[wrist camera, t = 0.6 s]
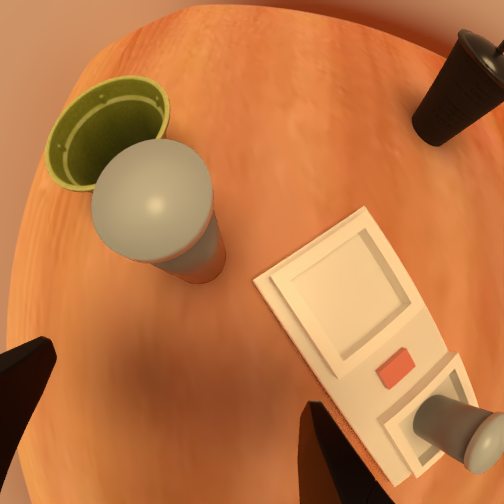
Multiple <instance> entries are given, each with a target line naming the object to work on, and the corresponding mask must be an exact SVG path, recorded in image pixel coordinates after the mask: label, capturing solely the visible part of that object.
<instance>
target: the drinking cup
mask: <svg viewBox="0 0 504 504" xmlns="http://www.w3.org/2000/svg"><path fill="white" fill-rule="evenodd" d="M503 52H504V40H503V41H502V42H501V44H500V45H499V46H498V47H496V46H495V45H494V44H493V43H491V42H490V41H489V40H487V39H485V38H484V37H482V36H480V35H477V34H474V33H472V32H471V31H468V30H465V29H462V30H460V31H459V32H458V40H457V42H456V44H455V46H454V47H453V49H452V51H451V53H450V55H449V56H448V58H447V60H446V62H445V63H444V65H443V67H442V69H441V70H440V72H439V74H438V76H437V77H436V79H435V81H434V82H433V84H432V86H431V87H430V89H429V91H428V92H427V94H426V96H425V97H424V99H423V100H422V102H421V104H420V105H419V107H418V109H417V110H416V112H415V113H414V115H413V117H412V123H413V126H414V129H415V130H416V132H417V133H418V135H419V136H420V137H421V138H422V139H423V140H424V141H425V142H427V143H428V144H430V145H433V146H441V145H442V144H444V143H445V142H447V141H448V140H449V139H451V138H452V137H454V136H455V135H457V134H458V133H460V132H461V131H462V130H464V129H465V128H467V127H468V126H470V125H471V124H473V123H474V122H475V121H477V120H478V119H480V118H481V117H483V116H484V115H485V114H487V113H488V112H490V111H491V110H493V109H494V108H495V107H497V106H498V105H500V104H501V103H502V102H504V54H503Z"/></svg>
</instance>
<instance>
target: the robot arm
mask: <svg viewBox="0 0 504 504" xmlns="http://www.w3.org/2000/svg"><path fill="white" fill-rule="evenodd" d="M56 360H57V355H56V352H55V349H54V346H53V343H52V341H51V340H50V339H49V338H46V337H44V336H40V337H38V338H36V339H34V340H31V341H29V342H27V343H24V344H22V345H20V346H18V347H15V348H13V349H11V350H9V351H6V352H4V353H2V354H0V492H1V489H2V486H3V483H4V480H5V477H6V474H7V471H8V469H9V466H10V464H11V461H12V459H13V456H14V454H15V451H16V449H17V447H18V444H19V442H20V440H21V437H22V435H23V433H24V431H25V429H26V426H27V424H28V422H29V420H30V418H31V416H32V414H33V412H34V410H35V408H36V406H37V404H38V402H39V400H40V398H41V396H42V394H43V392H44V389H45V387H46V384H47V382H48V380H49V377H50V375H51V372H52V370H53V368H54V365H55V363H56ZM298 478H299V496H300V504H395V503H394V502H393V500H392V499H391V498H390V497H389V496H388V494H387V493H386V492H385V491H384V489H383V488H382V487H381V485H380V484H379V483H378V481H377V480H375V477H374V476H373V475H372V473H371V472H370V470H369V469H368V468H367V466H366V465H365V463H364V462H363V461H362V459H361V458H360V456H359V455H358V454H357V452H356V451H355V449H354V448H353V446H352V445H351V444H350V442H349V441H348V439H347V438H346V437H345V435H344V434H343V432H342V431H341V429H340V428H339V426H338V425H337V424H336V422H335V421H334V419H333V418H332V416H331V415H330V413H329V412H328V411H327V409H326V408H325V406H324V405H323V403H322V402H320V401H308V402H307V404H306V406H305V408H304V410H303V412H302V414H301V417H300V428H299V444H298Z"/></svg>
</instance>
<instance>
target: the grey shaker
mask: <svg viewBox="0 0 504 504" xmlns="http://www.w3.org/2000/svg"><path fill="white" fill-rule="evenodd" d="M213 208H214V192H213V187H212V183H211V179H210V174H209V171H208V169H207V166H206V165H205V163H204V161H203V160H202V158H201V157H200V156H199V155H198V154H197V153H196V152H195V151H194V150H193V149H191V148H190V147H188V146H187V145H185V144H183V143H180V142H177V141H174V140H169V139H152V140H146V141H143V142H139V143H137V144H134V145H132V146H130V147H128V148H127V149H125V150H123V151H122V152H121V153H119V154H118V155H117V156H116V157H114V158H113V159H112V160H111V161H110V162H109V164H108V165H107V166H106V167H105V169H104V170H103V171H102V173H101V175H100V177H99V178H98V180H97V183H96V185H95V188H94V191H93V195H92V202H91V214H92V220H93V224H94V227H95V230H96V232H97V234H98V235H99V237H100V238H101V240H102V241H103V242H104V243H105V244H106V245H107V246H108V247H109V248H110V249H111V250H113V251H114V252H116V253H118V254H120V255H122V256H124V257H126V258H128V259H131V260H134V261H137V262H141V263H150V264H152V265H154V266H156V267H158V268H160V269H162V270H164V271H166V272H168V273H170V274H172V275H174V276H176V277H178V278H181V279H183V280H185V281H187V282H189V283H193V284H203V283H207V282H209V281H211V280H213V279H214V278H216V277H217V276H218V275H219V274H220V272H221V271H222V269H223V267H224V264H225V260H226V252H225V248H224V244H223V241H222V237H221V234H220V230H219V227H218V223H217V220H216V216H215V213H214V209H213Z"/></svg>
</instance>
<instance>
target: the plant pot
mask: <svg viewBox="0 0 504 504" xmlns="http://www.w3.org/2000/svg"><path fill="white" fill-rule="evenodd" d="M169 119H170V103H169V99H168V96H167V93H166V91H165V90H164V89H163V88H162V87H161V86H160V85H159V84H158V83H157V82H155V81H154V80H151V79H149V78H146V77H142V76H122V77H116V78H113V79H109V80H106V81H103V82H101V83H99V84H97V85H95V86H93V87H91V88H89V89H88V90H86V91H85V92H83V93H82V94H81V95H79V96H78V97H77V98H76V99H74V100H73V101H72V102H71V103H70V104H69V105H68V106H67V107H66V108H65V110H64V111H63V112H62V113H61V115H60V116H59V118H58V119H57V120H56V122H55V124H54V126H53V127H52V129H51V131H50V134H49V137H48V140H47V144H46V149H45V162H46V167H47V170H48V173H49V175H50V176H51V178H52V179H53V180H54V181H55V182H56V183H57V184H58V185H59V186H61V187H63V188H64V189H67V190H70V191H74V192H92V193H93V191H94V188H95V185H96V183H97V180H98V178H99V177H100V175H101V173H102V171H103V170H104V169H105V167H106V166H107V165H108V164H109V162H110V161H111V160H112V159H113V158H114V157H116V156H117V155H118V154H119V153H121V152H122V151H123V150H125V149H127V148H128V147H130V146H132V145H134V144H137V143H139V142H143V141H146V140H152V139H166V130H167V127H168V124H169Z"/></svg>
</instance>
